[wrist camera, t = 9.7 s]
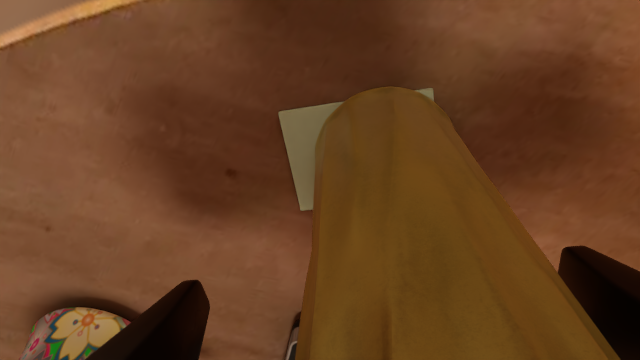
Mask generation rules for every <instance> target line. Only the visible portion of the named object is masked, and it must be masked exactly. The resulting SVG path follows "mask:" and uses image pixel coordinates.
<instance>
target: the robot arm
mask: <svg viewBox="0 0 640 360" xmlns="http://www.w3.org/2000/svg"><path fill="white" fill-rule="evenodd" d="M558 274H559V276H560V277H561V279H562V280H563V281H564V283H565V284H566V286H567V287H568V288H569V290H570V291H571V292H572V294H573V295H574V297H575V298H576V299H577V301H578V302H579V303H580V305H581V306H582V307H583V309H584V310H585V312H586V313H587V314H588V316H589V317H590V318H591V320H592V321H593V323H594V324H595V325H596V327H597V328H598V329H599V331H600V332H601V334H602V335H603V336H604V338H605V339H606V340H607V342H608V343H609V345H610V346H611V347H612V349H613V350H614V351H615V353H616V354H617V355H618V357H619V358H620V359H621V360H640V271H638V270H635V269H633V268H631V267H629V266H627V265H625V264H623V263H620V262H618V261H616V260H614V259H612V258H610V257H608V256H605V255H603V254H601V253H599V252H597V251H595V250H593V249H591V248H588V247H586V246H571V247H565V248H564V249H563V250H562V253H561V258H560V264H559V270H558ZM209 310H210V304H209V300H208V298H207V296H206V293H205V291H204V289H203V286H202V284H201V282H200V281H199V280H187V281H183V282H181V283H180V284H179V285H177V286H176V287H175V288H174V289H172V290H171V291H170V292H169V293H167V294H166V295H165V296H164V297H162V298H161V299H160V300H159V301H157V302H156V303H155V304H154V305H152V306H151V307H150V308H149V309H147V310H146V311H145V312H144V313H142V314H141V315H140V316H138V317H137V318H136V319H135V320H133V321H132V322H131V323H130V324H128V325H127V326H126V327H125V328H123V329H122V330H121V331H120V332H118V333H117V334H116V335H115V336H113V337H112V338H111V339H110V340H108V341H107V342H106V343H105V344H103V345H102V346H101V347H100V348H98V349H97V350H96V351H94V352H93V353H92V354H91V355H89V356H88V357H87V358H86V359H84V360H198V359H199V355H200V351H201V346H202V342H203V337H204V333H205V328H206V324H207V320H208V315H209Z"/></svg>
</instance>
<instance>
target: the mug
mask: <svg viewBox="0 0 640 360" xmlns="http://www.w3.org/2000/svg"><path fill="white" fill-rule="evenodd" d="M130 323H131V322H130V321H128V320H126V319H124V318H122V317H120V316H118V315H115V314H112V313H109V312H106V311H102V310H98V309H93V308H85V307H70V308H63V309H59V310H55V311H53V312H50V313H48V314H46V315H45V316H43V317H42V318H40V319H39V320H38V321H37V322H36V323H35V325H34V326H33V328H32V330H31V333H30V337H29V340H28V343H27V345H26V347H25V349H24V351H23V353H22V355H21V357H20V358H19V360H84V359H86V358H87V357H88V356H89V355H91V354H92V353H93V352H94V351H96V350H97V349H98V348H100V347H101V346H102V345H103V344H105V343H106V342H107V341H108V340H110V339H111V338H112V337H113V336H115V335H116V334H117V333H118V332H120V331H121V330H122V329H123V328H125V327H126V326H127V325H128V324H130Z"/></svg>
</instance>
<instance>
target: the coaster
mask: <svg viewBox="0 0 640 360" xmlns="http://www.w3.org/2000/svg"><path fill="white" fill-rule="evenodd" d="M414 91H417V92H419V93H421V94H423V95H425V96H427V97H428V98H430V99H431V100H432V101H434V90H433V88H426V89H420V90H414ZM343 102H345V101H343ZM343 102H336V103H330V104H323V105H317V106H310V107H304V108H297V109H291V110H285V111H279V113H278V115H279V120H280V124H281V128H282V133H283V137H284V141H285V145H286V150H287V154H288V158H289V162H290V167H291V171H292V175H293V180H294V184H295V188H296V192H297V197H298V201H299V205H300V210H301V211H304V210H313V204H314V203H313V198H314V181H315V145H316V142H317V138H318V136H319V133H320V130H321V128H322V126H323V124H324V122H325V120H326V119H327V118H328V117H329V116H330V115H331V114H332V113H333V112H334V111H335V110H336V109H337V108H338V107H339V106H340V105H341V104H342V103H343Z"/></svg>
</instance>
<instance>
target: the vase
mask: <svg viewBox="0 0 640 360" xmlns="http://www.w3.org/2000/svg"><path fill="white" fill-rule="evenodd" d="M313 203H314V204H313V225H312V252H311V257H310V263H309V268H308V273H307V278H306V284H305V290H304V297H303V304H302V311H301V318H300V325H299V333H298V340H297V347H296V355H295V360H621V359H620V358H619V357H618V355H617V354H616V353H615V351H614V350H613V349H612V347H611V346H610V345H609V343H608V342H607V340H606V339H605V338H604V336H603V335H602V334H601V332H600V331H599V329H598V328H597V327H596V325H595V324H594V323H593V321H592V320H591V318H590V317H589V316H588V314H587V313H586V312H585V310H584V309H583V307H582V306H581V305H580V303H579V302H578V301H577V299H576V298H575V297H574V295H573V294H572V292H571V291H570V290H569V288H568V287H567V286H566V284H565V283H564V281H563V280H562V279H561V277H560V276H559V274H558V273H557V272H556V270H555V269H554V267H553V266H552V265H551V263H550V262H549V260H548V259H547V258H546V256H545V255H544V253H543V252H542V251H541V249H540V248H539V247H538V245H537V244H536V243H535V241H534V240H533V239H532V237H531V236H530V235H529V233H528V232H527V231H526V229H525V228H524V226H523V225H522V224H521V222H520V221H519V219H518V218H517V216H516V215H515V214H514V212H513V211H512V209H511V208H510V206H509V205H508V204H507V202H506V201H505V199H504V198H503V197H502V195H501V194H500V193H499V191H498V190H497V188H496V187H495V186H494V184H493V183H492V182H491V180H490V179H489V178H488V176H487V175H486V174H485V172H484V171H483V170H482V168H481V167H480V166H479V164H478V163H477V162H476V160H475V159H474V157H473V156H472V154H471V153H470V151H469V149H468V148H467V147H466V145H465V144H464V142H463V141H462V139H461V138H460V136H459V135H458V133H457V132H456V131H455V129H454V128H453V125H452V122H451V120H450V118H449V117H448V115H447V114H446V113H445V112H444V111H443V110H442V109H441V108H440V107H439V106H438V105H437V104H436V103H435V102H434V101H432V100H431V99H430V98H428V97H427V96H425V95H423V94H421V93H419V92H417V91H414V90H411V89H407V88H402V87H393V86H389V87H379V88H374V89H370V90H366V91H363V92H360V93H358V94H356V95H354V96H352V97H350V98H349V99H347V100H346V101H345V102H343V103H342V104H341V105H340V106H339V107H338V108H337V109H336V110H335V111H334V112H333V113H332V114H331V115H330V116H329V117H328V118H327V119H326V120H325V122H324V124H323V126H322V128H321V130H320V133H319V136H318V138H317V142H316V145H315V181H314V198H313Z"/></svg>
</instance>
